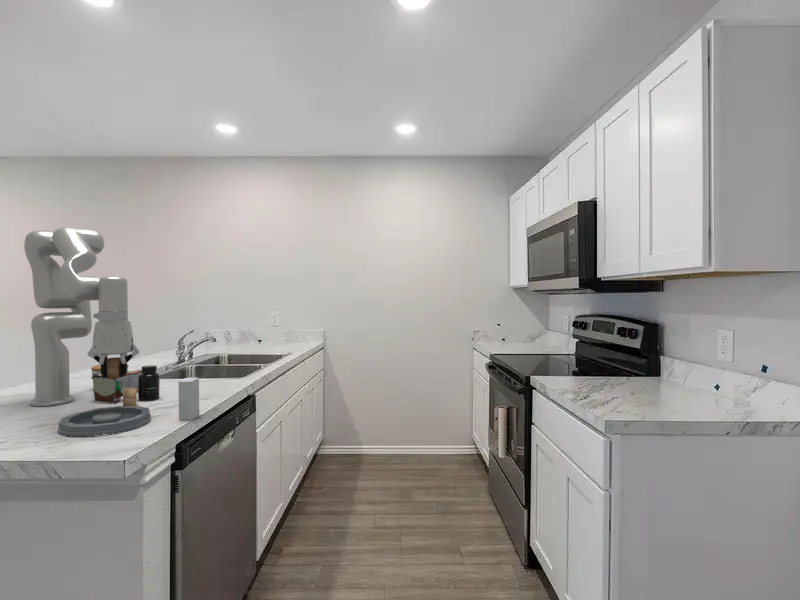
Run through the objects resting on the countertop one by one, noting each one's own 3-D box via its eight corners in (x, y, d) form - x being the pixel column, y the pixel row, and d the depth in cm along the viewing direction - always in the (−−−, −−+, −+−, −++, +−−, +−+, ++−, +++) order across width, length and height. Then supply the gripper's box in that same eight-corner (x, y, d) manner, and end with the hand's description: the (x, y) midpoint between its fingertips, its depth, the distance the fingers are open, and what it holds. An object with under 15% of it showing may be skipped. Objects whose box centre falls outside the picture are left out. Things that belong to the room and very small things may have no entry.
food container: (132, 400, 163) (132, 372, 163) (117, 404, 157) (117, 375, 157) (107, 397, 167) (107, 370, 167) (91, 401, 161) (91, 373, 161)
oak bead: (120, 406, 154) (120, 389, 154) (132, 404, 157) (132, 387, 157) (127, 408, 152) (127, 390, 152) (139, 405, 155) (139, 388, 155)
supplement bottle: (150, 401, 161) (150, 368, 161) (133, 400, 162) (133, 367, 162) (163, 397, 168) (163, 365, 167) (147, 396, 169) (147, 364, 169)
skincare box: (185, 415, 144) (185, 377, 144) (199, 414, 144) (199, 377, 144) (178, 420, 138) (177, 381, 138) (192, 420, 138) (192, 381, 138)
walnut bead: (103, 378, 138) (103, 358, 138) (117, 376, 142) (117, 357, 142) (111, 379, 136) (110, 359, 136) (124, 377, 140) (124, 357, 140)
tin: (147, 388, 182) (147, 368, 182) (153, 389, 181) (153, 368, 181) (111, 396, 168) (111, 374, 168) (117, 397, 167) (117, 374, 167)
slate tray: (42, 428, 129) (42, 419, 129) (124, 410, 149) (124, 402, 149) (84, 442, 118) (84, 431, 118) (167, 420, 138) (167, 411, 138)
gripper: (76, 318, 133) (77, 380, 133) (140, 317, 137) (141, 377, 137) (87, 316, 140) (87, 376, 140) (147, 316, 144) (147, 373, 145)
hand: (114, 376), depth 139 cm, fingers closed on walnut bead, 4 cm apart
